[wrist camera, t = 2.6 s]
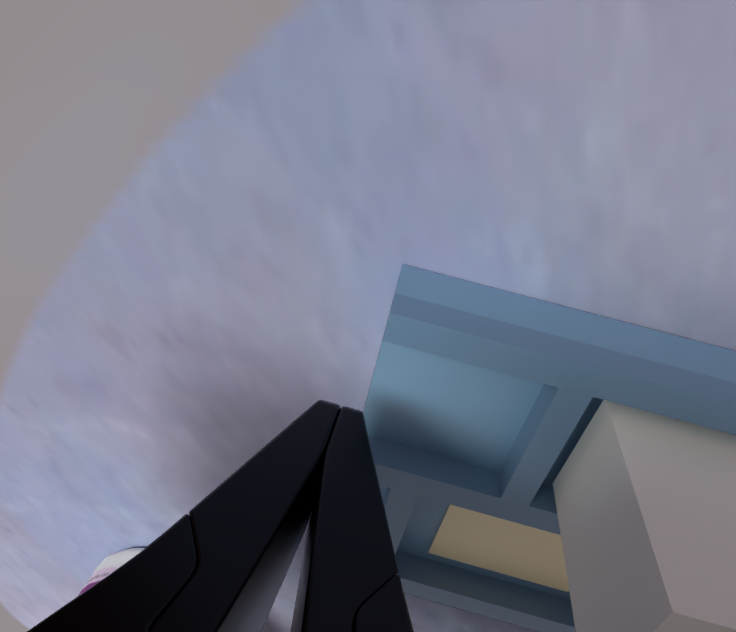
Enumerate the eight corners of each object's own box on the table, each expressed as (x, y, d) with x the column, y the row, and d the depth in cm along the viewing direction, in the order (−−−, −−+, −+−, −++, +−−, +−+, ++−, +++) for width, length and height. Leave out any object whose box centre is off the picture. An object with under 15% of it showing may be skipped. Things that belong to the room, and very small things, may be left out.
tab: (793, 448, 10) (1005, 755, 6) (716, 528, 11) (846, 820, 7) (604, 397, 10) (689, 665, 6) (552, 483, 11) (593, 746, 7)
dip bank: (1164, 462, 10) (1295, 553, 8) (865, 655, 14) (913, 738, 13) (402, 264, 11) (389, 312, 9) (337, 507, 15) (321, 569, 13)
